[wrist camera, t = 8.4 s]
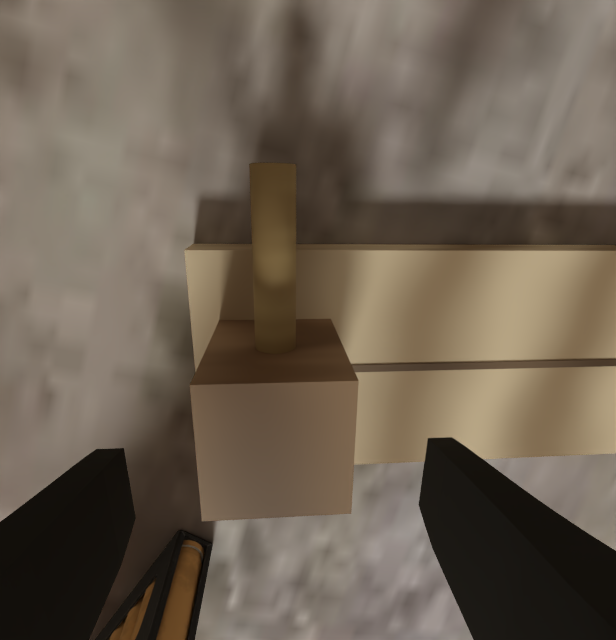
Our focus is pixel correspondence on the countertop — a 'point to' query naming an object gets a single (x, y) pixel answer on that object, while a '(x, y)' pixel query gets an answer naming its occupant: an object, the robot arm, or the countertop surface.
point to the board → (449, 339)
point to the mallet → (274, 387)
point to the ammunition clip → (165, 595)
